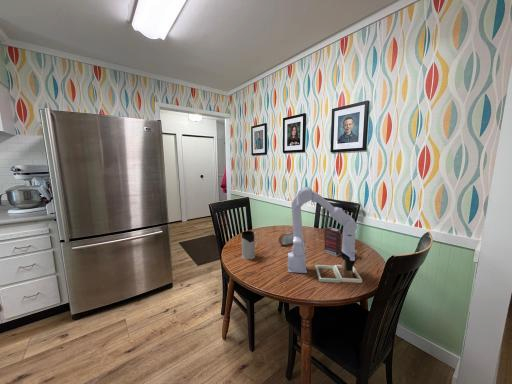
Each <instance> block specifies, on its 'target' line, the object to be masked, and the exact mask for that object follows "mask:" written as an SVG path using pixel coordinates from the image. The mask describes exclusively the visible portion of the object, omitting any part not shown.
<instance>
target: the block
mask: <svg viewBox="0 0 512 384" xmlns="http://www.w3.org/2000/svg"><path fill="white" fill-rule="evenodd" d="M341 260H342V261H341V262H342V263H341V265H342V269H341V275H342V276H343V278H353V273H354V272H353V268H352V271H347V269H346V262H345V260H343V259H341Z"/></svg>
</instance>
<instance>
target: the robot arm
mask: <svg viewBox="0 0 512 384" xmlns="http://www.w3.org/2000/svg"><path fill="white" fill-rule="evenodd" d="M308 202H312V203H318V205H320V206H321V207H322V208H324V209H325V210H326V211H328V212H329V216H330V218H333V220H335V221H336V222H337V224H339V225H341V226H343V227H342V236H341V251H340V255H341V258H342V259H341V260H345V262H346V269H347V271H352V268H353V266H355V263H356V262H357V261H358V259H357V257H355V254H356V253H358V250H357V249H355V248H356V230H357V228H358V225H357V222H356V221H355V219H354V218H353V217H352V216H351V215H349V214H347V213H346V212H345V211H344V209H343V208H342V207H337V206H334V205H332V204H331V203H329V201H327V199H325V198H324V197H323V196H322V195H321V194H319V193H318V192H317V191H315V190H313V189H312V188H311V187H309V186H305V187H303V188H301V189H300V190H299V191H298V192H297V194H296V195H295V197H294V199H293V200H292V202H291V217H292V219H291V220H292V231H293V235H294V239H293V243H292V247H291V252H288V253H287V264H286V265H287V272H288V273H301V274H307V273H308V271H307V267H306V255H307V254H306V251H305V246H306V242H305V240H304V236H303V220H302V206H303V205H304V204H306V203H308Z"/></svg>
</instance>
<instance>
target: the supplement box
mask: <svg viewBox="0 0 512 384" xmlns="http://www.w3.org/2000/svg"><path fill="white" fill-rule="evenodd" d="M341 250H342V229H339V228H335V227H331V226H327V227H325V228H324V253H326V254H328V255H331V256H334V257H339V256H340V255H341V252H340V251H341Z"/></svg>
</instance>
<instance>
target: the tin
mask: <svg viewBox="0 0 512 384" xmlns="http://www.w3.org/2000/svg"><path fill="white" fill-rule="evenodd" d="M293 239H294V235H293V230H292V231H287V232H282V233H281V234H280V235H279V236H278V243H279V244H280V245H281V246H289V245H291V244H292V245H293Z"/></svg>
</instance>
